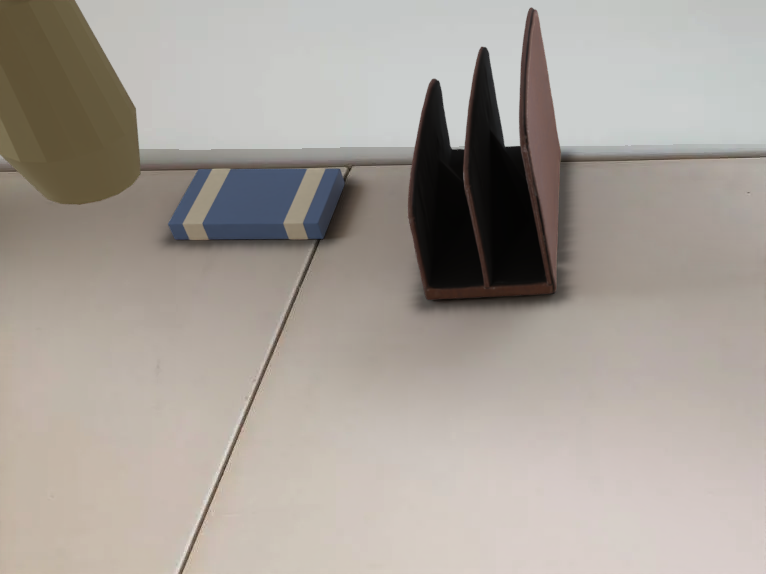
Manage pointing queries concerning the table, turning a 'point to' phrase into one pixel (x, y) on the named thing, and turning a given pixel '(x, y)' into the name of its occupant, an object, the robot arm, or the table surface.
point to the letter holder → (488, 188)
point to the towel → (258, 204)
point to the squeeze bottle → (63, 105)
